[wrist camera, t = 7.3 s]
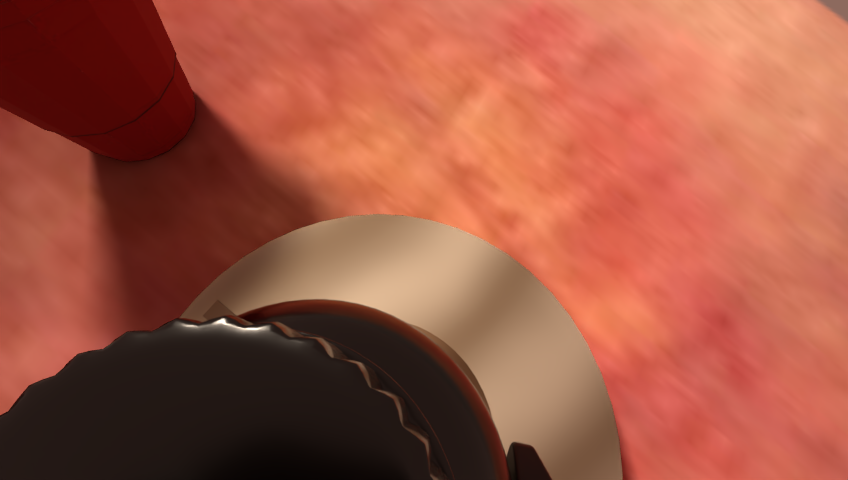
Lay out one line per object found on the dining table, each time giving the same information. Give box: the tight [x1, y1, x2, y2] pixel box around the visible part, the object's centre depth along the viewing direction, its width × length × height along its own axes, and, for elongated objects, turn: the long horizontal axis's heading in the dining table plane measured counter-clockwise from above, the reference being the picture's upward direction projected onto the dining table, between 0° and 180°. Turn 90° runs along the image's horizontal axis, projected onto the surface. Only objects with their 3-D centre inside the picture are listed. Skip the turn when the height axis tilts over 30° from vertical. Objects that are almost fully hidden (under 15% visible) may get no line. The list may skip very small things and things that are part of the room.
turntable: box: [180, 214, 623, 480], centre depth 16 cm, size 18×18×2 cm
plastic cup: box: [0, 0, 196, 162], centre depth 18 cm, size 11×11×12 cm
